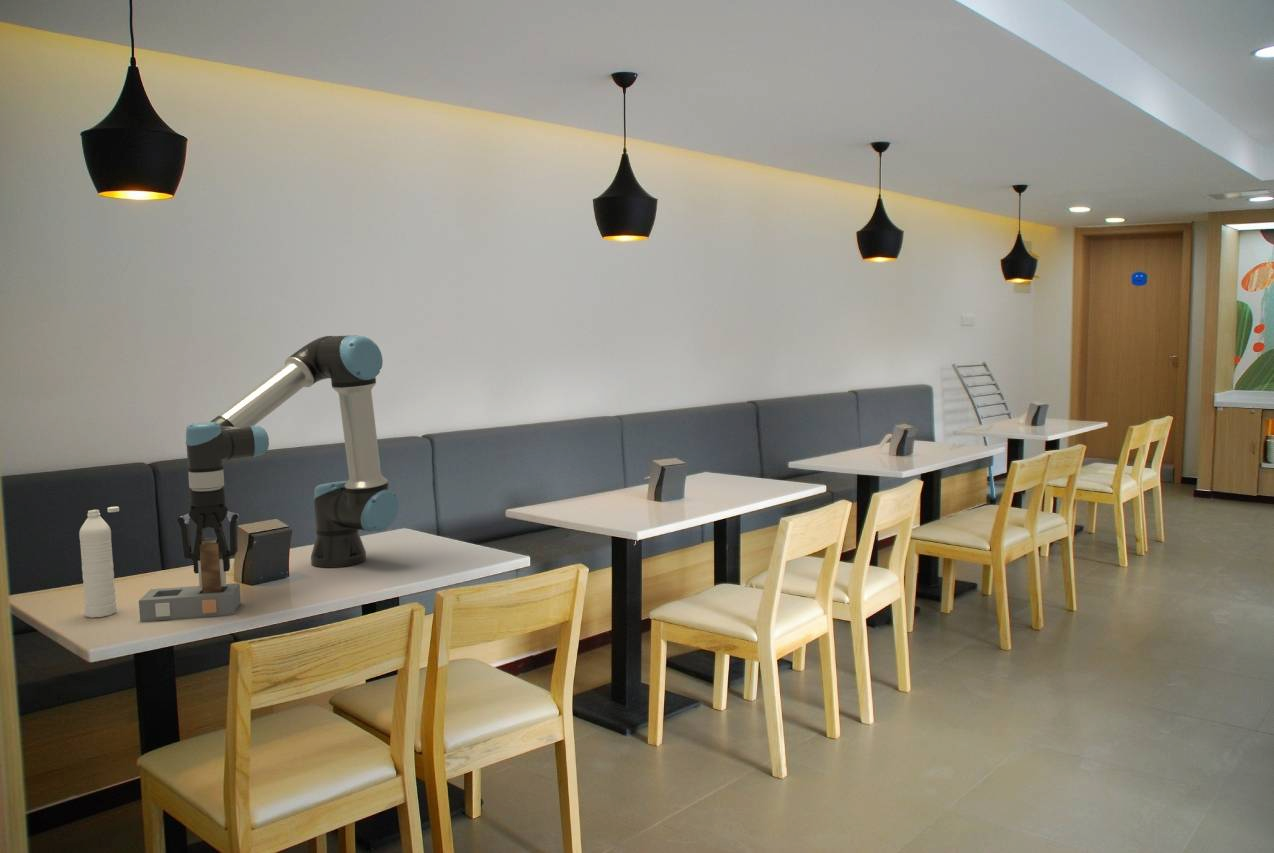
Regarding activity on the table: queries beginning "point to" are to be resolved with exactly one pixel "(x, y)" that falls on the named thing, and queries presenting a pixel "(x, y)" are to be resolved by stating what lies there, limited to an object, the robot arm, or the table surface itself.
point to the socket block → (188, 603)
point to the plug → (210, 566)
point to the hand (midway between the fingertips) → (213, 585)
